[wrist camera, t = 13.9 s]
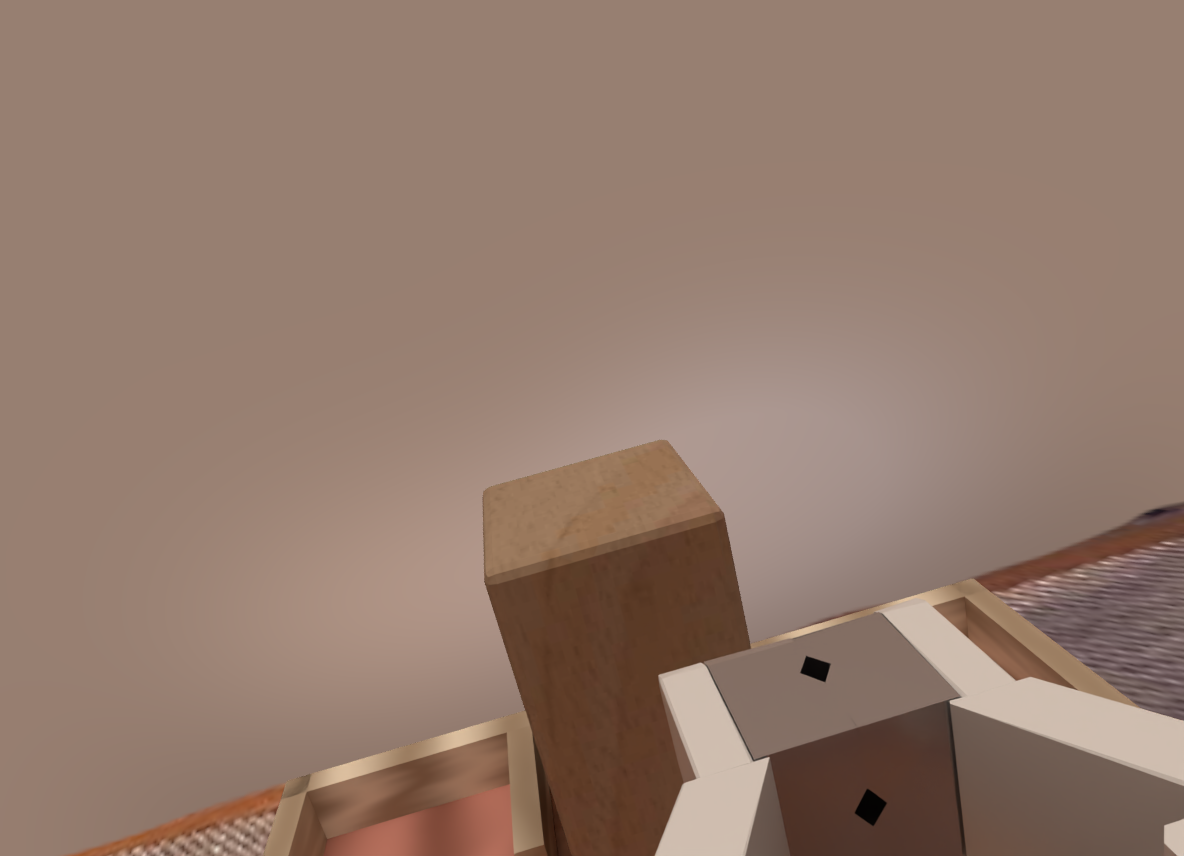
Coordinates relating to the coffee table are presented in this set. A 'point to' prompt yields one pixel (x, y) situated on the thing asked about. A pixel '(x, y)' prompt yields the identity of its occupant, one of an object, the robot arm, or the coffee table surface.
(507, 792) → the trap box
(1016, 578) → the coffee table surface
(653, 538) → the wooden block
